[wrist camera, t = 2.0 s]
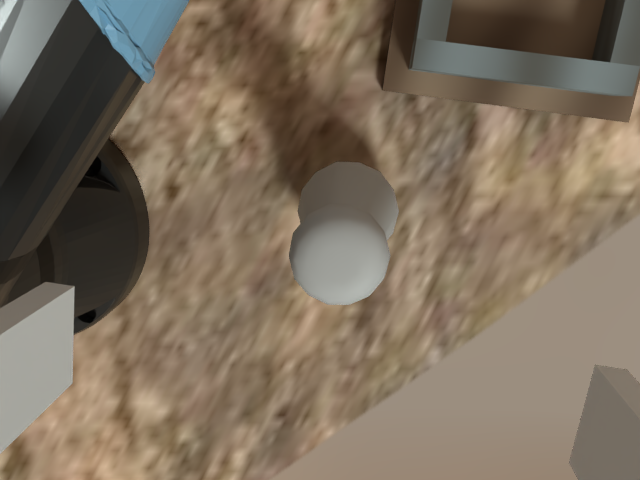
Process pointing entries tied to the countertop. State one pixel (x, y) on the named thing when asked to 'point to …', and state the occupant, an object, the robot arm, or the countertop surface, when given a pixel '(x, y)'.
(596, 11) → the collar socket
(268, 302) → the countertop surface
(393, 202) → the salt shaker
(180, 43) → the countertop surface
